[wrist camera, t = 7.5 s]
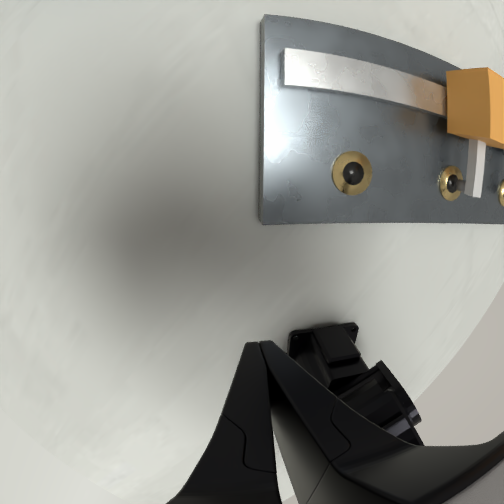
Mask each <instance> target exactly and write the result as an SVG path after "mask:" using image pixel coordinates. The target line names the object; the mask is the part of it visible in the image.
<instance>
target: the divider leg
mask: <svg viewBox="0 0 504 504" xmlns="http://www.w3.org/2000/svg"><path fill="white" fill-rule="evenodd" d="M446 78H447V133H450V134H454V135H457V136H460V137H463V138H466V139H469V150H468V163H467V174H466V181H464V180H461V179H459V180H457V182H456V189H457V190H458V191H461V192H463V193H464V194H467V195H469V196H472V197H479V198H481V191H482V183H483V174H484V163H485V149H486V145H487V146H490V147H495V148H500V149H504V78H503V77H501V76H500V75H498V74H497V73H495V72H494V71H492V70H491V69H489V68H488V67H486V68H472V69H462V70H453V71H446Z"/></svg>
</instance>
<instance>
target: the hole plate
mask: <svg viewBox="0 0 504 504" xmlns="http://www.w3.org/2000/svg"><path fill="white" fill-rule="evenodd" d="M453 70H462V69H460V68H458V67H456V66H454V65H452V64H450V63H448V62H446V61H443V60H441V59H439V58H437V57H434V56H432V55H430V54H427V53H425V52H423V51H420V50H418V49H415V48H412V47H410V46H407V45H404V44H402V43H399V42H396V41H393V40H390V39H387V38H384V37H381V36H377V35H374V34H370V33H367V32H363V31H360V30H356V29H352V28H348V27H343V26H339V25H335V24H330V23H325V22H319V21H314V20H308V19H301V18H294V17H287V16H278V15H267V14H264V16H263V18H262V20H261V22H260V171H259V220H260V221H261V223H262V225H278V224H317V223H475V224H504V149H500V148H495V147H490V146H487V145H486V149H485V163H484V174H483V183H482V191H481V198H479V197H472V196H469V195H467V194H464V193H463V192H461V191H458V190H457V189H456V182H457V180H459V179H461V180H464V181H466V174H467V163H468V150H469V139H466V138H463V137H460V136H457V135H454V134H450V133H447V78H446V71H453Z"/></svg>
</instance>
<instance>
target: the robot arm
mask: <svg viewBox="0 0 504 504" xmlns="http://www.w3.org/2000/svg"><path fill="white" fill-rule="evenodd" d="M353 328H354V329H353ZM358 329H359V327H358V326H357V324H355V323H350V324H344V325H337V326H330V327H323V328H315V329H307V330H299V331H293V332H291V333H290V335H289V342H288V352H287V354H286V353H285V352H284V351H283V350H282V349H281V348H279V347H278V346H277V345H276V344H275V343H274V342H273V341H271V340H267V341H260V342H259V343H258V342H247V343H245V346H244V349H243V352H242V355H241V358H240V361H239V364H238V367H237V369H236V372H235V375H234V378H233V381H232V384H231V387H230V390H229V393H228V396H227V398H226V401H225V404H224V407H223V410H222V413H221V416H220V418H219V421H218V424H217V426H216V429H215V431H214V433H213V436H212V438H211V440H210V442H209V444H208V446H207V448H206V450H205V452H204V453H203V455H202V457H201V458H200V460H199V462H198V464H197V465H196V467H195V469H194V470H193V472H192V474H191V475H190V477H189V479H188V480H187V482H186V483H185V485H184V486H183V488H182V489H181V490H180V491H179V493H178V494H177V495H176V496H175V497H174V498H172V499H171V500H170V501H169V502H167V503H166V504H282V501H281V498H280V494H279V488H278V481H277V474H276V473H277V471H276V460H275V449H274V438H273V431H274V434H275V437H276V440H277V443H278V446H279V449H280V452H281V455H282V458H283V461H284V464H285V466H286V469H287V472H288V475H289V478H290V481H291V484H292V486H293V489H294V492H295V495H296V497H297V500H298V503H299V504H504V431H503V432H502V433H501V434H499V435H498V436H497V437H495V438H494V439H493V440H491V441H489V442H486V443H483V444H479V445H468V446H424V444H423V442H422V440H421V438H420V437H419V435H418V433H417V431H416V429H415V428H414V426H415V425H417V424H418V423H419V422H421V417H420V415H419V413H418V412H417V409H416V407H415V406H414V404H413V402H412V401H411V399H410V397H409V396H408V394H407V393H406V391H405V390H404V388H403V387H402V386H401V384H400V383H399V382H398V380H397V379H396V378H395V377H394V375H393V374H392V373H391V372H390V370H389V369H388V368H387V366H386V365H385V364H384V363H383V361H382V360H381V361H379V362H378V363H376V365H375V366H374V367H372V368H371V369H369V368H368V367H367V365H366V364H365V362H364V361H363V359H362V357H361V353H360V352H359V350H358V349H357V347H356V346H355V341H356V337H357V333H358ZM295 336H297V337H295ZM294 337H295V338H294Z"/></svg>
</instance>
